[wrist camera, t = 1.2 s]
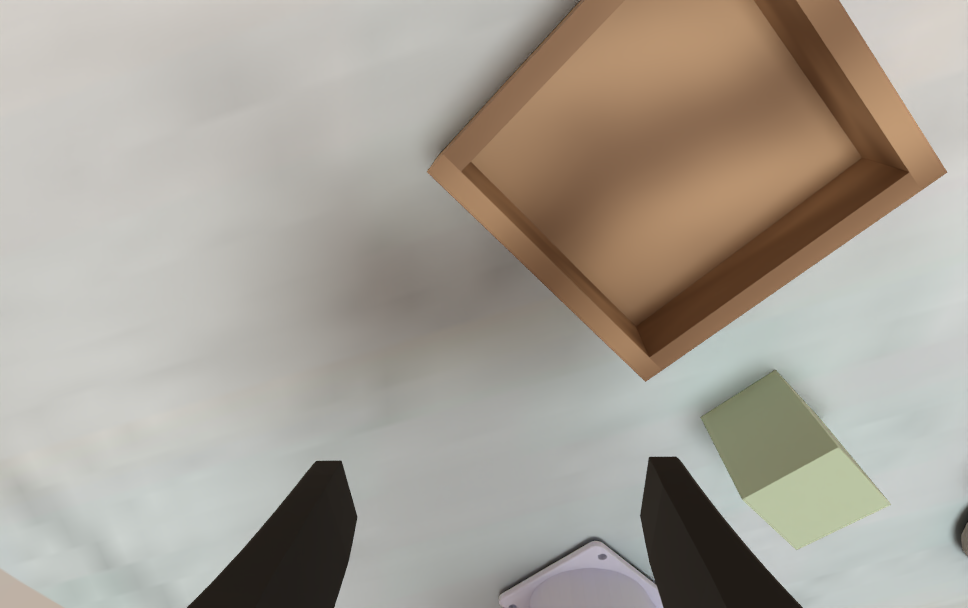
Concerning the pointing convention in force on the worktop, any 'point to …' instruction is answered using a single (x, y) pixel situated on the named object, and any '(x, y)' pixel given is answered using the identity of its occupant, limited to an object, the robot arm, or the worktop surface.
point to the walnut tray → (686, 161)
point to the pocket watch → (965, 539)
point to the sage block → (789, 463)
